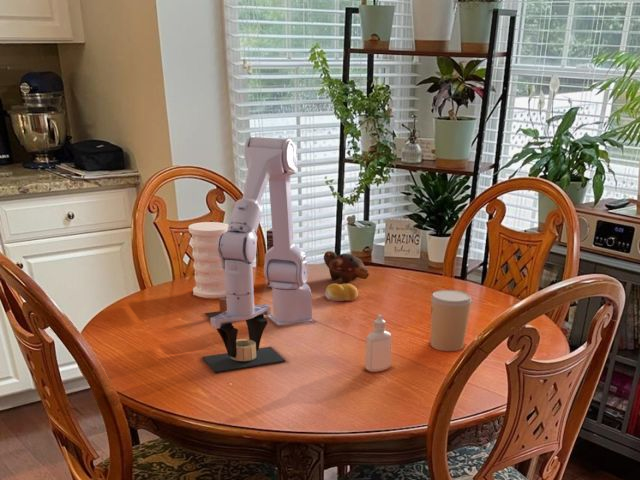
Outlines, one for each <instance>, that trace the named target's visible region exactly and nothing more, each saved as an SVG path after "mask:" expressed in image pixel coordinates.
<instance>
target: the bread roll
mask: <svg viewBox="0 0 640 480" xmlns="http://www.w3.org/2000/svg"><path fill="white" fill-rule="evenodd" d="M358 295H359V291H358V289H357V287H356V286H355V285H353V284H351V283H341V284H339V283H330V284H328V286H326V289H325V293H324V296H325V297H326V299H327V300H329V301H333V302H345V301H348V302H351V301H355V299H356V298H357V297H358Z"/></svg>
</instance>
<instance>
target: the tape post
mask: <svg viewBox="0 0 640 480" xmlns="http://www.w3.org/2000/svg"><path fill="white" fill-rule="evenodd" d="M218 304H219V310H218V311H211V312H210V311H209V312H204V315H205V316H206V317H207V318H208V319H209V320H210V318H212V317H215V316H217V315H219V314H221V313H223V312H225V311H227V297H221V298H218Z"/></svg>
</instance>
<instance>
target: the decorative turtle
mask: <svg viewBox="0 0 640 480" xmlns="http://www.w3.org/2000/svg"><path fill="white" fill-rule="evenodd" d="M323 261H324V264H325V266H326V267H327V268H328V271H329V275H330V278H331V280H332V281H337V280H339V279H340V280H342V282H343V284H349V282H350V281H351V280H355V279H357V278H358V279H363V280H366V279H368V278H369V277H370V270H369V269H367V268H365V264H364V262H363V260H362V259H361V258H359V257H357V255H354V254H352V253H341V254H339V255H337V252H335V251H333V250H328V251H326V252H325V253H324V254H323Z"/></svg>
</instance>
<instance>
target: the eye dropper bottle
mask: <svg viewBox="0 0 640 480" xmlns="http://www.w3.org/2000/svg"><path fill="white" fill-rule="evenodd" d="M386 323H387V321H386V320H384V319H383V315H382V314H380V313H379V314H377V318H376V319H375V320H374V321H373V331H371V332H370V333H368V335H367V336H366V341H365V369H366V370H367V371H368V372H372V373H376V372H377V373H378V372H382V371H385V370H388V369H390V368H391V358H392V339H393V338H392V334H391V332H389V331H387V330H386Z"/></svg>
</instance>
